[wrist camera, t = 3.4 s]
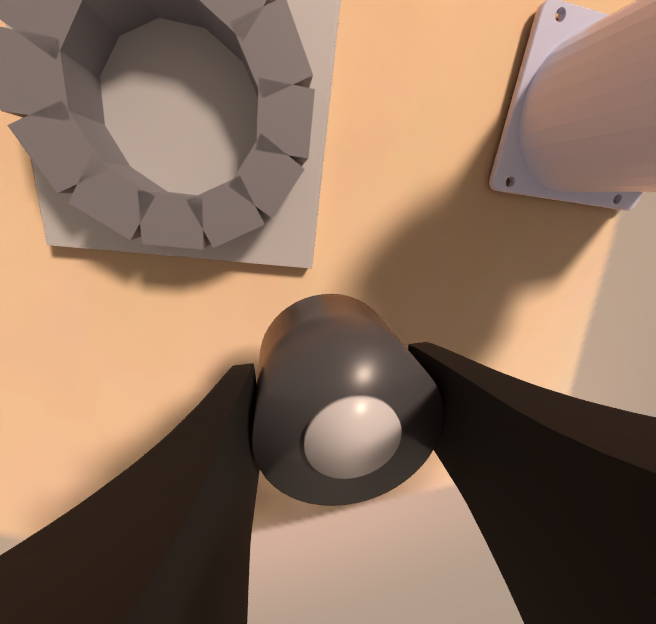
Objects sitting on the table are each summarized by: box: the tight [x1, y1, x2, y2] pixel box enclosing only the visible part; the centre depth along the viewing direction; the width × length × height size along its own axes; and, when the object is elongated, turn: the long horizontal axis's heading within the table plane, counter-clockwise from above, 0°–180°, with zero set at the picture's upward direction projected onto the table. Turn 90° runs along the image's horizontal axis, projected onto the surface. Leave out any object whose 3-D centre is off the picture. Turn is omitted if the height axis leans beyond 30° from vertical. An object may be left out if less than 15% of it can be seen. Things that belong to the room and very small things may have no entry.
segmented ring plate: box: [0, 0, 341, 269], centre depth 12 cm, size 12×12×3 cm
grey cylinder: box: [252, 294, 443, 506], centre depth 9 cm, size 5×5×4 cm
